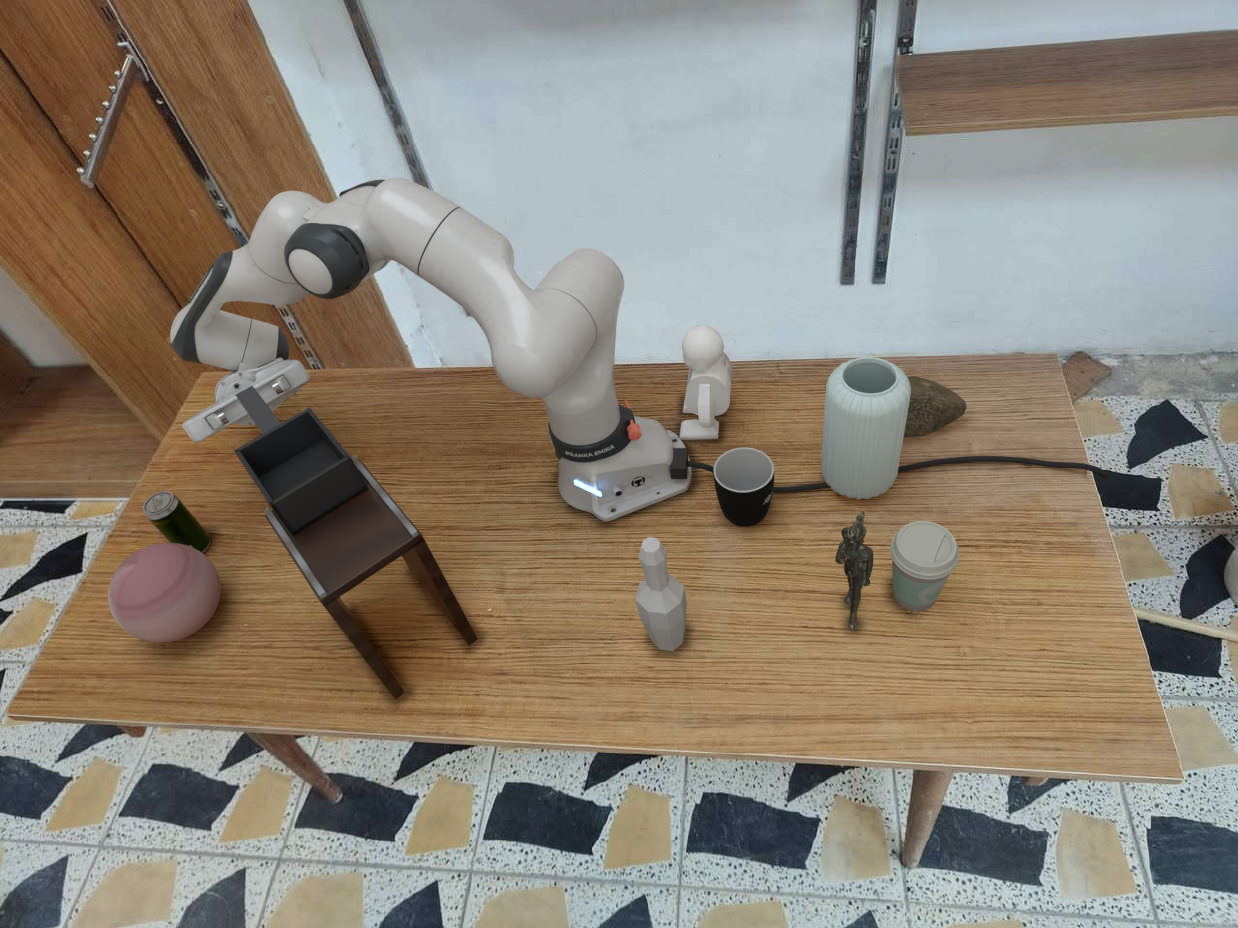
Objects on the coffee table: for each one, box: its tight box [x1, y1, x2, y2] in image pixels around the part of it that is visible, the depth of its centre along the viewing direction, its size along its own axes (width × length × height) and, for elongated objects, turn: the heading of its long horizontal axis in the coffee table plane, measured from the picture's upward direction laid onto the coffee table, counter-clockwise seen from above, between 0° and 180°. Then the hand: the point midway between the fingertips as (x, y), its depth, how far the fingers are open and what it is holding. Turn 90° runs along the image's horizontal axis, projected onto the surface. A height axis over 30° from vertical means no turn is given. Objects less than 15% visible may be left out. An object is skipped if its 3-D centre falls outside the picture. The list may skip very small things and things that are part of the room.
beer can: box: [142, 490, 212, 554], centre depth 136 cm, size 5×5×12 cm
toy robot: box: [678, 324, 733, 441], centre depth 135 cm, size 14×9×20 cm, turn 171°
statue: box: [835, 510, 874, 631], centre depth 106 cm, size 5×6×20 cm
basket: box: [233, 386, 368, 535], centre depth 110 cm, size 24×11×6 cm, turn 39°
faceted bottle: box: [635, 536, 688, 652], centre depth 107 cm, size 6×6×22 cm
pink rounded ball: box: [107, 542, 222, 644], centre depth 124 cm, size 15×15×15 cm
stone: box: [904, 375, 968, 438], centre depth 133 cm, size 17×9×8 cm, turn 93°
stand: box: [263, 454, 479, 700], centre depth 113 cm, size 18×14×27 cm
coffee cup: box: [889, 520, 960, 612], centre depth 110 cm, size 8×8×12 cm
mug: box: [712, 446, 775, 528], centre depth 125 cm, size 12×9×10 cm
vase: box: [820, 356, 911, 501], centre depth 121 cm, size 12×12×22 cm
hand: (250, 403), depth 124 cm, fingers open, 8 cm apart
